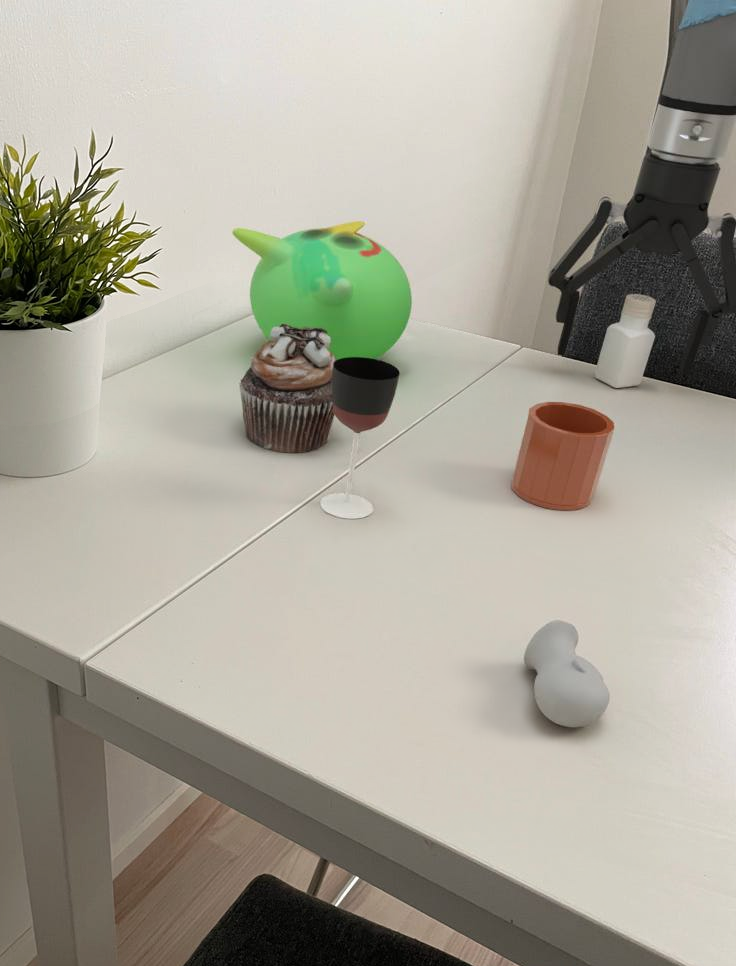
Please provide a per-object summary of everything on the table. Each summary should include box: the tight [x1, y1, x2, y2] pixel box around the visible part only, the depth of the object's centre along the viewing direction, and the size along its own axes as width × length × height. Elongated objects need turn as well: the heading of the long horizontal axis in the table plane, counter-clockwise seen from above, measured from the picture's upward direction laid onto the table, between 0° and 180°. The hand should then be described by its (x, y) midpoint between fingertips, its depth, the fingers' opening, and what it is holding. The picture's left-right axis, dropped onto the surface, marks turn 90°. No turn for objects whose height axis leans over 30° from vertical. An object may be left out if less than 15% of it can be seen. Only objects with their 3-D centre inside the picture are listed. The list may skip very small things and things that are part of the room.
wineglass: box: [319, 357, 401, 520], centre depth 81 cm, size 5×5×12 cm
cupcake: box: [238, 324, 337, 454], centre depth 92 cm, size 10×10×10 cm
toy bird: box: [232, 221, 413, 360], centre depth 108 cm, size 18×17×15 cm
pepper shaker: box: [594, 293, 657, 389], centre depth 111 cm, size 4×4×10 cm
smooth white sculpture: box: [523, 619, 610, 728], centre depth 64 cm, size 4×8×5 cm
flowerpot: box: [510, 401, 615, 511], centre depth 88 cm, size 7×7×7 cm
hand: (621, 361), depth 113 cm, fingers open, 13 cm apart
